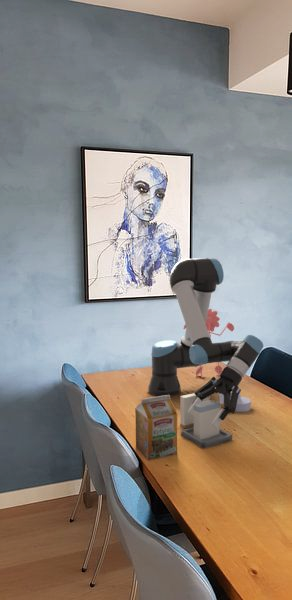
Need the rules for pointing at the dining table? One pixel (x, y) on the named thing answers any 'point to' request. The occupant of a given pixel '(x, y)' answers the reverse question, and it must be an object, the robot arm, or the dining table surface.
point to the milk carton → (156, 427)
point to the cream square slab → (186, 403)
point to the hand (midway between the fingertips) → (201, 419)
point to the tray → (209, 441)
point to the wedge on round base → (239, 403)
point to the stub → (205, 419)
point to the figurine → (211, 324)
